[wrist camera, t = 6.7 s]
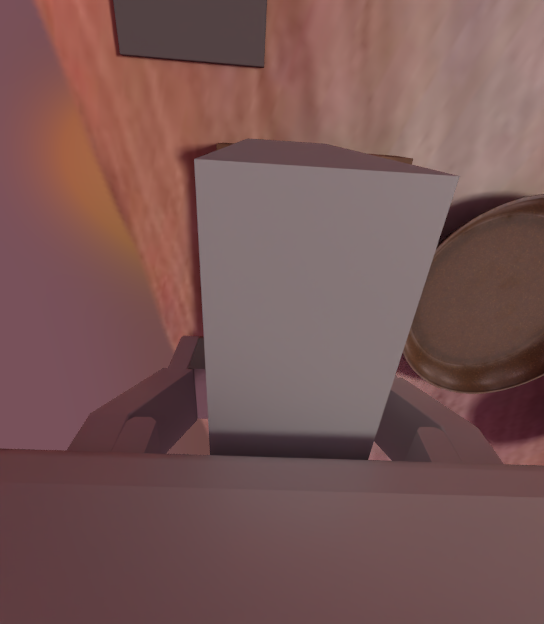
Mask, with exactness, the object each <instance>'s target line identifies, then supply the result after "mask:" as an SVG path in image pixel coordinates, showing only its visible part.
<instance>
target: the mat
mask: <svg viewBox="0 0 544 624" xmlns="http://www.w3.org/2000/svg"><path fill="white" fill-rule="evenodd" d="M113 3H114V10H115V18H116V26H117V34H118V42H119V50H120V54H121V55H127V56H138V57H149V58H160V59H172V60H183V61H194V62H206V63H217V64H228V65H240V66H251V67H262V68H264V54H265V32H266V10H267V0H113Z"/></svg>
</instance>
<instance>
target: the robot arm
mask: <svg viewBox="0 0 544 624" xmlns="http://www.w3.org/2000/svg"><path fill="white" fill-rule="evenodd" d="M197 418H200V419H208V405H207V386H206V368H205V350H204V337H203V336H200V337H199V336H183V337H181V339H180V342H179V344H178V346H177V348H176V351H175V353H174V355H173V358H172V360H171V362H170V365H169V367H168V368H162V369H161V370H159V371H158V372H156V373H154V374H153V375H152V376H150V377H148V378H146V379H145V380H143V381H142V382H140V383H138V384H137V385H135V386H134V387H132V388H130V389H129V390H127V391H125V392H124V393H123V394H121V395H119V396H117V397H116V398H114V399H113V400H111V401H109V402H108V403H106V404H105V405H103V406H101V407H100V408H98V409H97V410H95V411H93V412H92V413H90V415H89V416H88V418H87V419H86V421H85V422H84V424H83V426H82V427H81V429H80V430H79V432H78V433H77V435H76V436H75V438H74V439H73V441H72V443H71V444H70V446H69V447H68V449H67V450H66V451H62V450H30V449H0V624H544V466H539V465H508V464H503V462H502V461H501V460H500V458H499V457H498V455H497V454H496V452H495V451H494V450H493V448H492V447H491V445H490V444H489V443H488V441H487V440H486V438H485V437H484V435H483V434H482V433H481V431H480V430H479V428H478V427H476V426H475V425H473V424H472V423H470V422H469V421H467V420H465V419H464V418H462V417H461V416H459V415H458V414H456V413H455V412H453V411H452V410H450V409H449V408H447V407H446V406H444V405H443V404H441V403H440V402H438V401H437V400H435V399H434V398H432V397H431V396H429V395H428V394H426V393H425V392H423V391H422V390H420V389H419V388H417V387H415V386H414V385H412V384H411V383H409V382H408V381H406V380H405V379H403V378H397V376H396V374H395V377H394V381H393V384H392V387H391V390H390V393H389V396H388V399H387V402H386V405H385V408H384V411H383V415H382V418H381V421H380V424H379V427H378V430H377V433H376V436H375V439H374V441H375V442H376V444H377V445H378V446H379V447H380V448H381V449H382V450H383V451H384V452H385V453H386V455H387V456H388V457H389V458H390V459H391V460H392V461H380V460H350V459H319V458H286V457H254V456H221V455H189V454H166V453H167V451H168V450H169V449H170V448H171V447H172V446H173V445H174V444H175V443H176V442H177V441H178V440H179V439H180V438H181V437H182V436H183V435H184V433H185V432H186V431H187V430H188V429H189V428H190V427H191V426H192V425H193V424H194V423H195V422H196V421H197Z"/></svg>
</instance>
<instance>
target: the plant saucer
mask: <svg viewBox="0 0 544 624" xmlns="http://www.w3.org/2000/svg"><path fill="white" fill-rule="evenodd" d="M403 355H404V357H405V359H406V361H407V363H408V364H409V366H410V367H411V368H412V369H413V371H414V372H415V373H416V374H417V375H418V376H420V377H421V378H422V379H423V380H425V381H426V382H428V383H430V384H432V385H434V386H436V387H438V388H441V389H444V390H448V391H452V392H457V393H466V394H482V393H491V392H497V391H502V390H506V389H509V388H514V387H516V386H520V385H523V384H525V383H528V382H530V381H533V380H535V379H537V378H539V377H541V376H543V375H544V194H541V195H534V196H529V197H524V198H520V199H517V200H513V201H510V202H508V203H505V204H502V205H500V206H497V207H495V208H493V209H491V210H489V211H487V212H485V213H483V214H481V215H479V216H477V217H475V218H474V219H472V220H470V221H469V222H467V223H466V224H464V225H463V226H461V227H460V228H458V229H457V230H456V231H454V232H453V233H452V234H450V235H449V236H448V237H447V238H446V239H445V240H443V241H442V242H441V243H440V244H439V245H438V246H437V248H436V251H435V254H434V257H433V260H432V263H431V266H430V269H429V272H428V275H427V279H426V282H425V285H424V288H423V291H422V294H421V297H420V300H419V303H418V306H417V309H416V313H415V316H414V319H413V322H412V325H411V328H410V331H409V334H408V337H407V340H406V343H405V347H404V350H403Z"/></svg>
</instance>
